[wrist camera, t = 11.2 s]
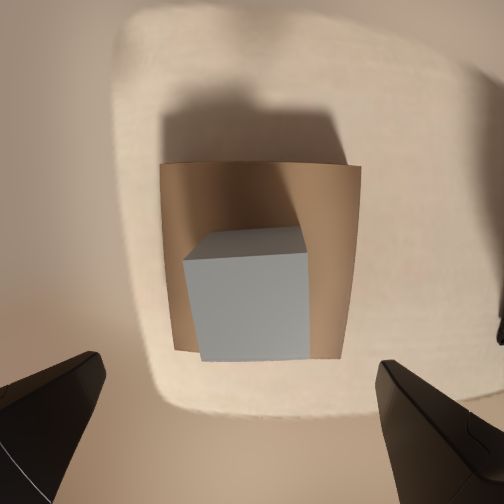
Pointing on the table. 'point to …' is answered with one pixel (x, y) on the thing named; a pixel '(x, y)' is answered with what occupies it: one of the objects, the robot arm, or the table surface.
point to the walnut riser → (266, 216)
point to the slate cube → (250, 295)
